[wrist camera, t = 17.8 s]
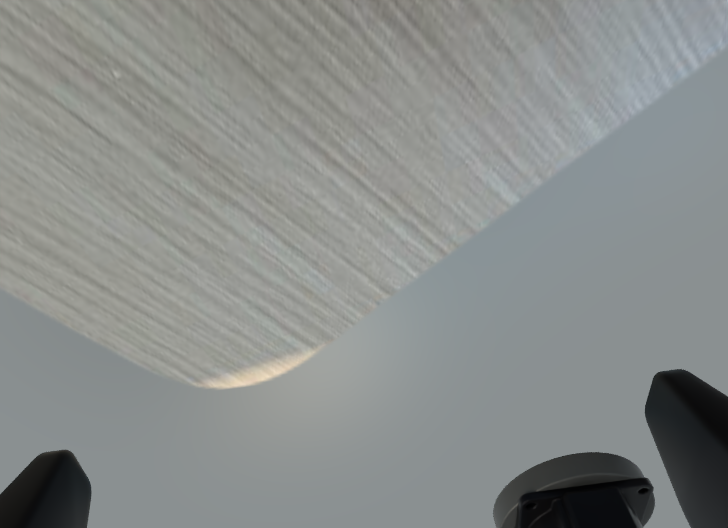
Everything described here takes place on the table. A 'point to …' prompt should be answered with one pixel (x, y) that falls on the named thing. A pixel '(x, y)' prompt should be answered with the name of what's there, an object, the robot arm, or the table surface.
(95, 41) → the table surface
